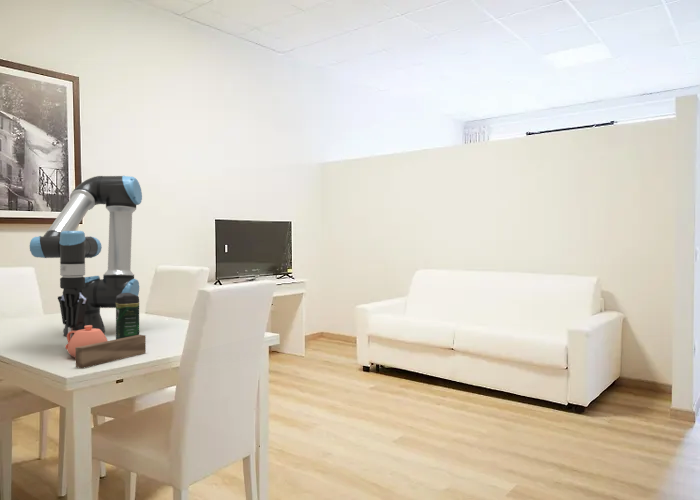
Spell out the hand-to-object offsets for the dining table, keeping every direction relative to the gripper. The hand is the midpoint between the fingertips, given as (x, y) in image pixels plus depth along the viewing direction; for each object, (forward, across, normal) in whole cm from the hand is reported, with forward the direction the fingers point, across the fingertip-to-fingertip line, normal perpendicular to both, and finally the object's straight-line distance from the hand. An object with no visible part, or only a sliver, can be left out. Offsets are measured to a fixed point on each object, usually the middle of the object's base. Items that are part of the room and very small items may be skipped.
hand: (73, 346), depth 182 cm
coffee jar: (+3, 0, +22) cm, 22 cm away
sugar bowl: (+3, +7, 0) cm, 8 cm away
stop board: (+3, +19, 0) cm, 19 cm away
